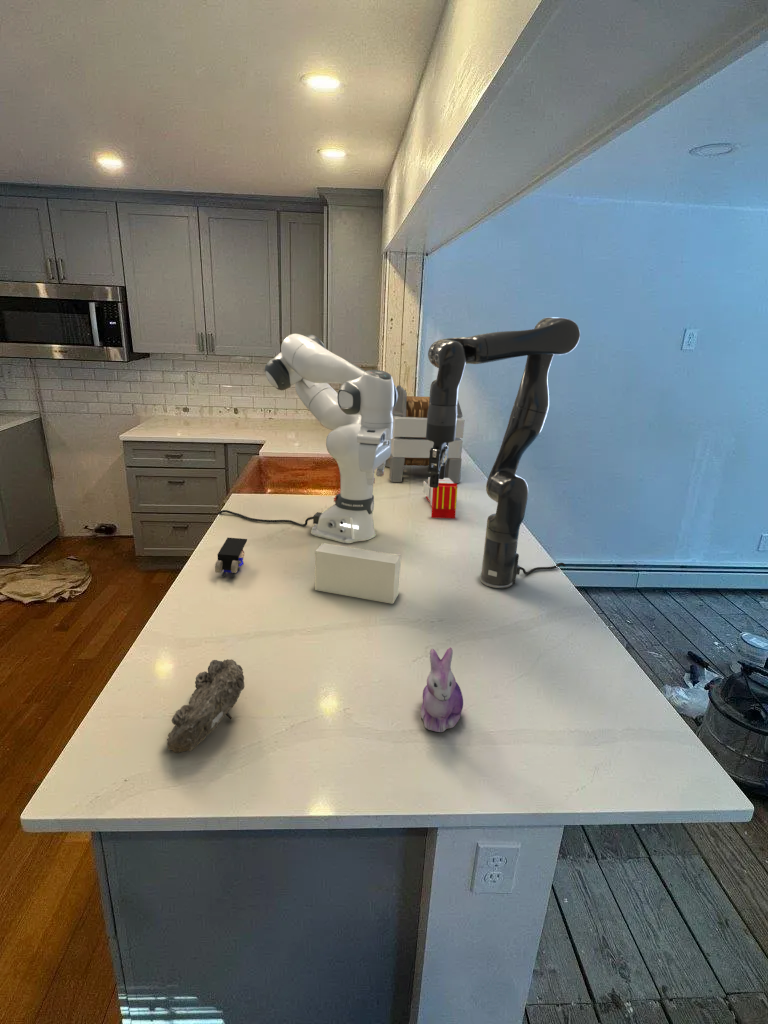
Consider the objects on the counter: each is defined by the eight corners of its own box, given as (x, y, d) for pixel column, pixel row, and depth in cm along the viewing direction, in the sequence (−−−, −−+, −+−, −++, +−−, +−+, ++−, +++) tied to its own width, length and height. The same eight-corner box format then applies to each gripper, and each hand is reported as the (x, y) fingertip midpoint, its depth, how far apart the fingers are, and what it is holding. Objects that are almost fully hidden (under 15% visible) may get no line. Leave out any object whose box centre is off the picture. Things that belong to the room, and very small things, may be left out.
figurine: (434, 741, 104) (440, 672, 99) (407, 708, 113) (411, 643, 108) (476, 726, 108) (484, 660, 103) (446, 695, 117) (452, 632, 112)
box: (314, 590, 158) (315, 550, 154) (322, 581, 163) (323, 542, 159) (393, 604, 152) (395, 563, 148) (398, 594, 158) (400, 555, 154)
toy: (450, 473, 241) (461, 484, 212) (448, 504, 244) (459, 519, 214) (421, 472, 240) (429, 483, 211) (420, 503, 243) (427, 518, 214)
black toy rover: (238, 584, 162) (249, 557, 175) (236, 562, 158) (247, 536, 172) (215, 584, 161) (227, 556, 175) (212, 561, 158) (225, 535, 171)
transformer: (382, 463, 289) (386, 382, 275) (445, 464, 293) (451, 384, 279) (390, 482, 257) (394, 392, 243) (460, 483, 261) (468, 394, 247)
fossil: (192, 660, 117) (244, 628, 112) (224, 691, 120) (276, 661, 115) (142, 746, 98) (202, 712, 93) (182, 779, 101) (242, 748, 96)
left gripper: (376, 424, 166) (374, 470, 170) (354, 437, 147) (353, 488, 151) (397, 425, 164) (395, 472, 169) (378, 439, 145) (376, 491, 150)
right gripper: (451, 428, 137) (446, 492, 142) (460, 418, 150) (455, 477, 155) (421, 425, 138) (417, 488, 144) (432, 415, 151) (428, 474, 157)
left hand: (375, 480), depth 160 cm, fingers open, 8 cm apart
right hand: (436, 482), depth 149 cm, fingers open, 8 cm apart
